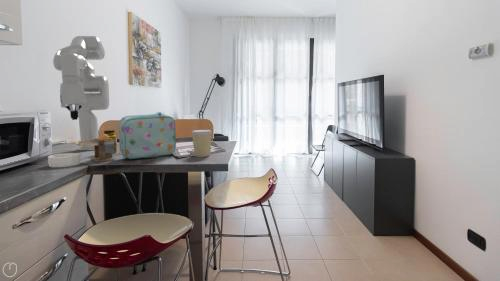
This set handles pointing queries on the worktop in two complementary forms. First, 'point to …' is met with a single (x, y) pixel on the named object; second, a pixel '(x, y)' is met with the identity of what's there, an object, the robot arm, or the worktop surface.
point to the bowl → (64, 160)
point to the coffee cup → (202, 142)
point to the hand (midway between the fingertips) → (74, 119)
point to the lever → (108, 144)
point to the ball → (105, 137)
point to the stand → (101, 152)
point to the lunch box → (147, 135)
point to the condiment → (112, 135)
